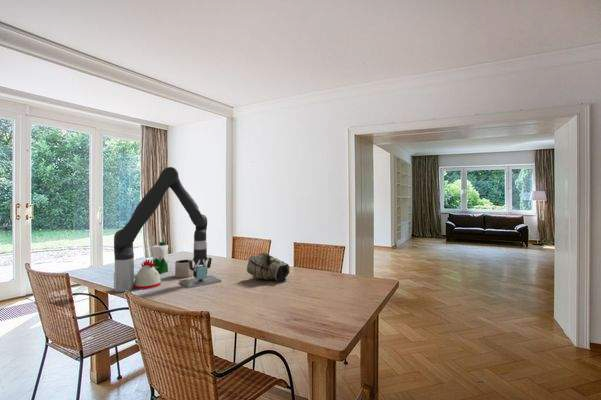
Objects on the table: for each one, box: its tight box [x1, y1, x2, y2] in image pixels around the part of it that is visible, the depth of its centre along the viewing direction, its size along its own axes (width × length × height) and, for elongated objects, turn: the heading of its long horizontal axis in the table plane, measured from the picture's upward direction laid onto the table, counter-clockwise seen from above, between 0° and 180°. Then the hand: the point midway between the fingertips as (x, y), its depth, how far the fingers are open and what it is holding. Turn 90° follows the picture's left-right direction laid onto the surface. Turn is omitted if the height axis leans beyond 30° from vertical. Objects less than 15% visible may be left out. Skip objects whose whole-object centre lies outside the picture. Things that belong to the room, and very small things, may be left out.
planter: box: [174, 259, 194, 279], centre depth 202 cm, size 11×11×10 cm
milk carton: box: [151, 241, 170, 275], centre depth 212 cm, size 9×9×20 cm
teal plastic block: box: [193, 265, 208, 280], centre depth 188 cm, size 6×6×7 cm
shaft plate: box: [178, 274, 222, 289], centre depth 188 cm, size 20×14×6 cm
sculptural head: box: [246, 252, 290, 282], centre depth 197 cm, size 17×21×25 cm
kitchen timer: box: [134, 259, 162, 290], centre depth 181 cm, size 14×14×15 cm
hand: (200, 276), depth 188 cm, fingers closed on teal plastic block, 5 cm apart
